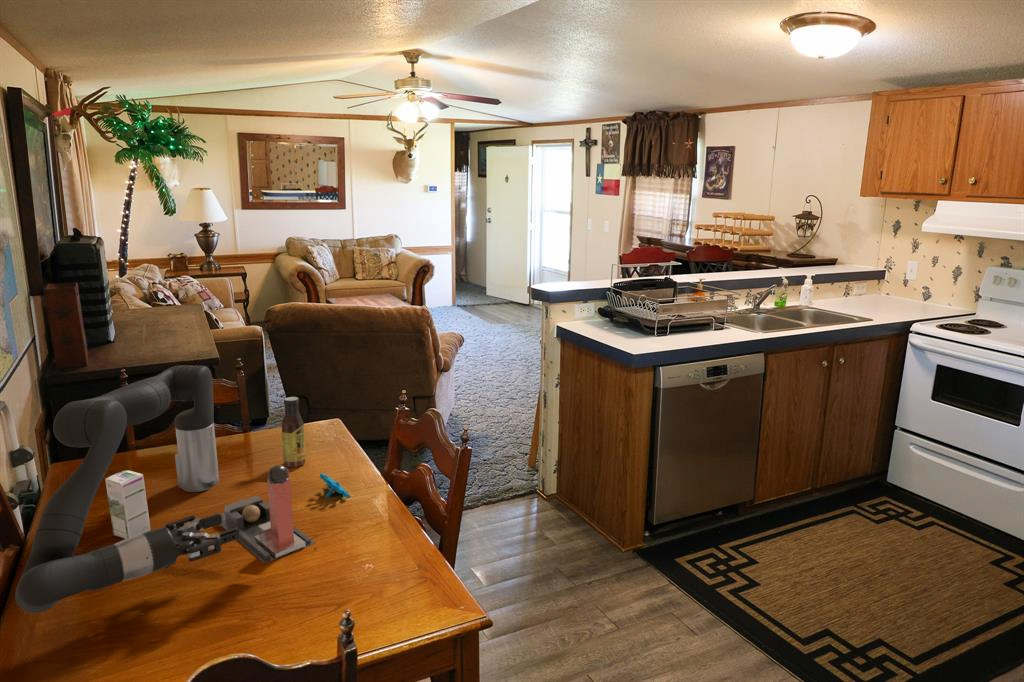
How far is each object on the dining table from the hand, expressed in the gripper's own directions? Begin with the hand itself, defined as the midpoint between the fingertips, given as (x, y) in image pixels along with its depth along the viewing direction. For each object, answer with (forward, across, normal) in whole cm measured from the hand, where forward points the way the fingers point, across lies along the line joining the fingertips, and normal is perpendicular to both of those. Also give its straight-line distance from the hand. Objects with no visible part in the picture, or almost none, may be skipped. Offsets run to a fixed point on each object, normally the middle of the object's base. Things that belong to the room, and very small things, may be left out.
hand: (229, 525), depth 139 cm
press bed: (+11, +11, +11) cm, 19 cm away
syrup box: (-10, +32, +11) cm, 36 cm away
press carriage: (+11, +2, +9) cm, 15 cm away
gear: (+33, +16, +11) cm, 38 cm away
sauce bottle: (+36, +43, +10) cm, 57 cm away
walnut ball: (+11, +16, +9) cm, 22 cm away
